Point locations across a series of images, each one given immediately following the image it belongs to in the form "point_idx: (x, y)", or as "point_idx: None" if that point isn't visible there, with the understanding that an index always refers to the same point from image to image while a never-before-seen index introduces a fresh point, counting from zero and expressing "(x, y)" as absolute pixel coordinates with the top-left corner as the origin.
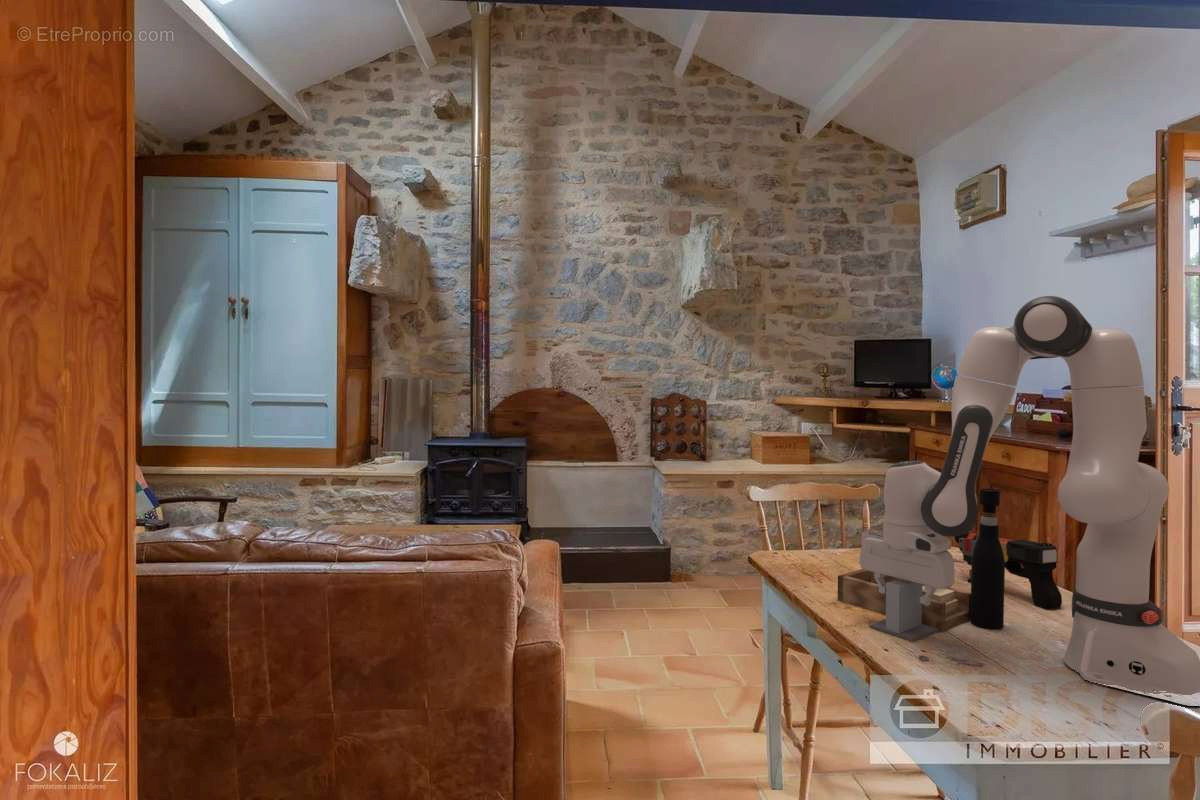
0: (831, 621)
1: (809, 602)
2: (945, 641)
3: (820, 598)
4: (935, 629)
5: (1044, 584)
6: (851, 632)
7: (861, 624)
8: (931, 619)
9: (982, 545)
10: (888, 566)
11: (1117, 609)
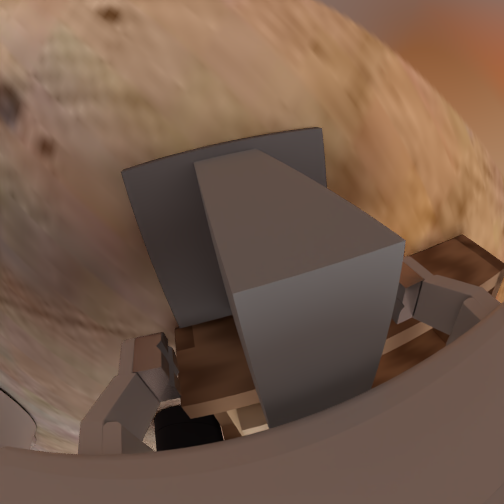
0: (406, 71)
1: (486, 159)
2: (99, 285)
3: (482, 205)
4: (177, 318)
5: None
6: (310, 28)
7: (350, 130)
8: (212, 342)
9: None
10: (490, 404)
11: None
